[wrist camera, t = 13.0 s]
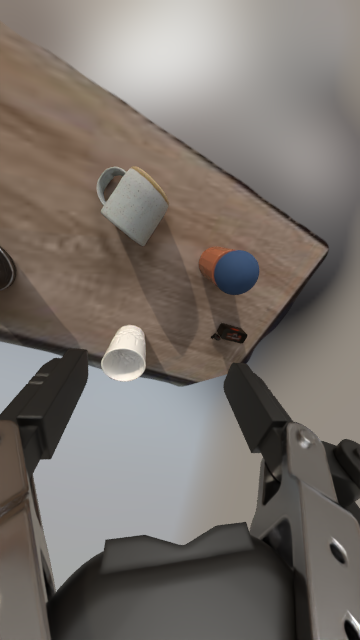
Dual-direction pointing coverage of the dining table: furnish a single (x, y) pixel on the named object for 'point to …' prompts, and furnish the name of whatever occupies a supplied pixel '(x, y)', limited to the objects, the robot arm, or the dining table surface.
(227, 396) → the robot arm
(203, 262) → the cup
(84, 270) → the dining table surface
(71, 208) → the dining table surface
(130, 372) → the white cup
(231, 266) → the ball
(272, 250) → the dining table surface
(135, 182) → the ceramic mug
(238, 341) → the wireless earbuds
